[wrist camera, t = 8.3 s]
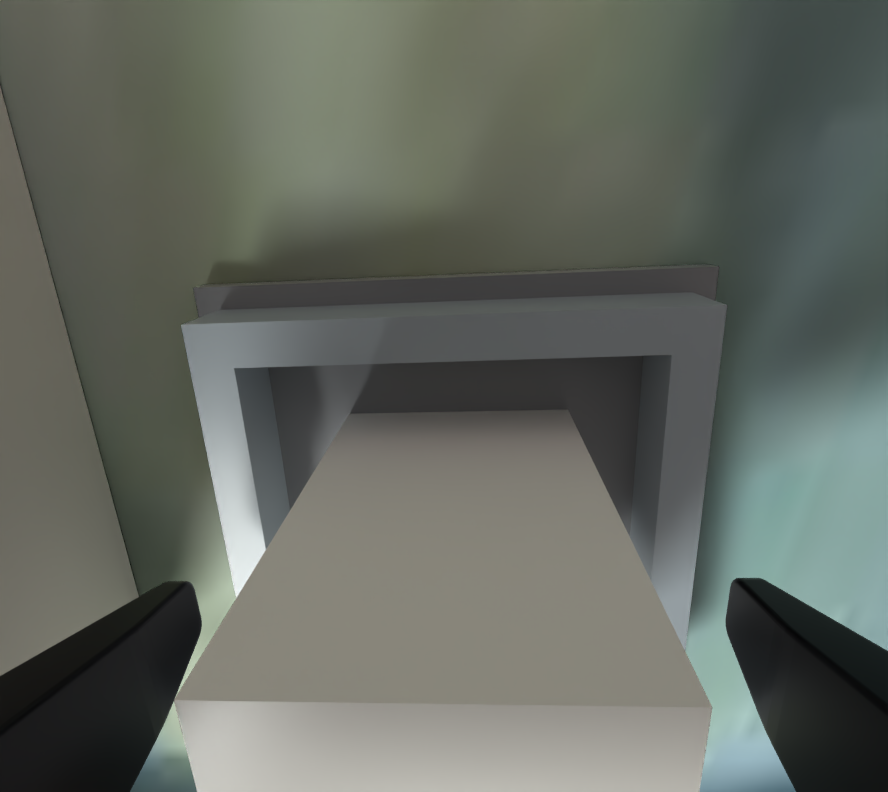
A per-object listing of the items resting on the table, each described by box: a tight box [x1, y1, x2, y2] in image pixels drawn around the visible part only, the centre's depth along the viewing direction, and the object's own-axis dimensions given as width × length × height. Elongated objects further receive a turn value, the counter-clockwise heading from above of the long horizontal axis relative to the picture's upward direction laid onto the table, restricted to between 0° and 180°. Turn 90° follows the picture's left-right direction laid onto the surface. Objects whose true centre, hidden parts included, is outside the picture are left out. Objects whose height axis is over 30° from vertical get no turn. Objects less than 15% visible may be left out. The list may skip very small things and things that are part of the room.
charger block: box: [174, 410, 712, 792], centre depth 8 cm, size 4×4×7 cm
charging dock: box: [181, 264, 727, 650], centre depth 11 cm, size 10×10×2 cm
